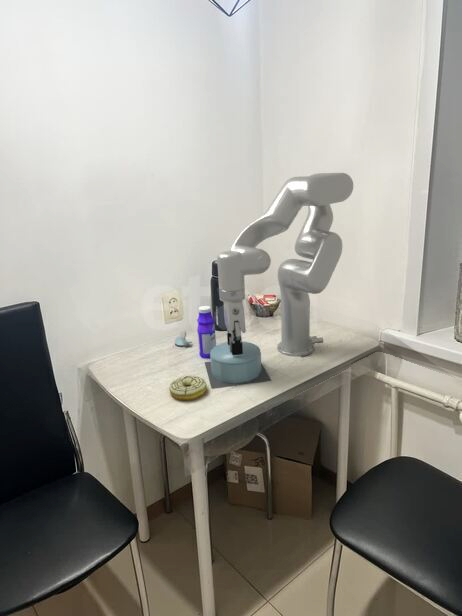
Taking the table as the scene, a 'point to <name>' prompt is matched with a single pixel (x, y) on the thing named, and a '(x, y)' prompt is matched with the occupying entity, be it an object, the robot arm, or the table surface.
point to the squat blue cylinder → (235, 362)
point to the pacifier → (181, 343)
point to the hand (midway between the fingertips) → (235, 348)
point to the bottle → (206, 331)
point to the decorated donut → (188, 388)
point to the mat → (218, 384)
